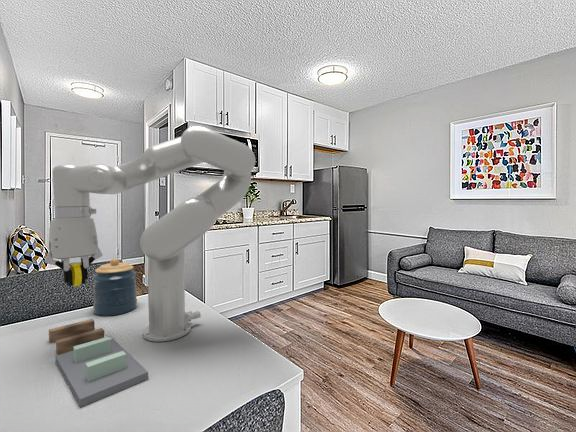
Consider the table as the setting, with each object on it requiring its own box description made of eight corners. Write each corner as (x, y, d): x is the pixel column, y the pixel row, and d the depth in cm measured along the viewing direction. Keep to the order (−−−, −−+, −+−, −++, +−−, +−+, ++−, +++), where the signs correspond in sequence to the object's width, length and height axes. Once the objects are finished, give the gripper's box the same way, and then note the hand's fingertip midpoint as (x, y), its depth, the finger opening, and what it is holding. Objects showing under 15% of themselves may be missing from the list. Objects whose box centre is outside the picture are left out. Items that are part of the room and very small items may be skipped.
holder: (92, 329, 87) (92, 318, 87) (104, 341, 80) (104, 330, 80) (49, 340, 80) (48, 329, 80) (57, 355, 73) (57, 343, 72)
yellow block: (66, 285, 80) (65, 262, 80) (79, 283, 82) (78, 261, 82) (72, 288, 76) (71, 264, 76) (85, 285, 78) (84, 262, 78)
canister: (143, 308, 104) (142, 257, 103) (101, 320, 94) (99, 263, 93) (128, 300, 112) (127, 253, 111) (88, 309, 103) (86, 258, 102)
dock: (113, 344, 78) (112, 327, 78) (148, 378, 63) (147, 357, 63) (55, 362, 69) (54, 343, 69) (80, 407, 54) (79, 383, 54)
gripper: (103, 212, 87) (105, 275, 88) (30, 214, 75) (34, 287, 76) (111, 212, 82) (114, 280, 83) (35, 215, 70) (39, 294, 71)
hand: (76, 283), depth 79 cm, fingers closed on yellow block, 2 cm apart
